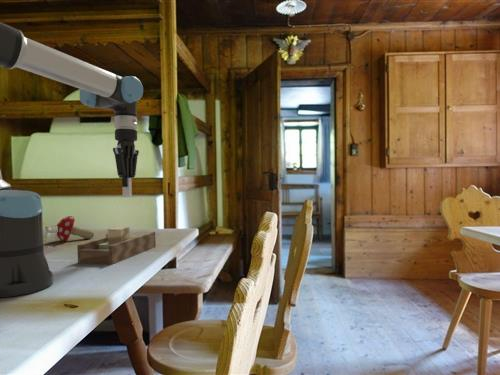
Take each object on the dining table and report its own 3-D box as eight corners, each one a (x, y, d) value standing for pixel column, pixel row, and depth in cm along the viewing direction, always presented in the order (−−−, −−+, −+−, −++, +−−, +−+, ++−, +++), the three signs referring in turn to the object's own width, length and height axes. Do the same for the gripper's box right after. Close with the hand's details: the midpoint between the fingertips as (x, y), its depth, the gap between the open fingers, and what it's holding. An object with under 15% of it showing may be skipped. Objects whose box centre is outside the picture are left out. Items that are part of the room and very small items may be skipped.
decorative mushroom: (99, 217, 163) (62, 207, 155) (97, 234, 154) (58, 224, 147) (90, 236, 167) (54, 227, 159) (87, 253, 158) (49, 244, 151)
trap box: (112, 264, 111) (111, 246, 111) (78, 262, 114) (77, 245, 114) (155, 246, 138) (155, 232, 137) (126, 246, 140) (126, 231, 140)
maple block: (121, 244, 122) (120, 229, 122) (108, 244, 123) (107, 229, 123) (129, 241, 127) (129, 227, 127) (116, 241, 128) (116, 226, 128)
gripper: (125, 126, 123) (126, 197, 123) (145, 131, 136) (146, 195, 136) (105, 127, 125) (106, 197, 125) (126, 132, 137) (127, 195, 138)
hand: (127, 196), depth 131 cm, fingers closed
